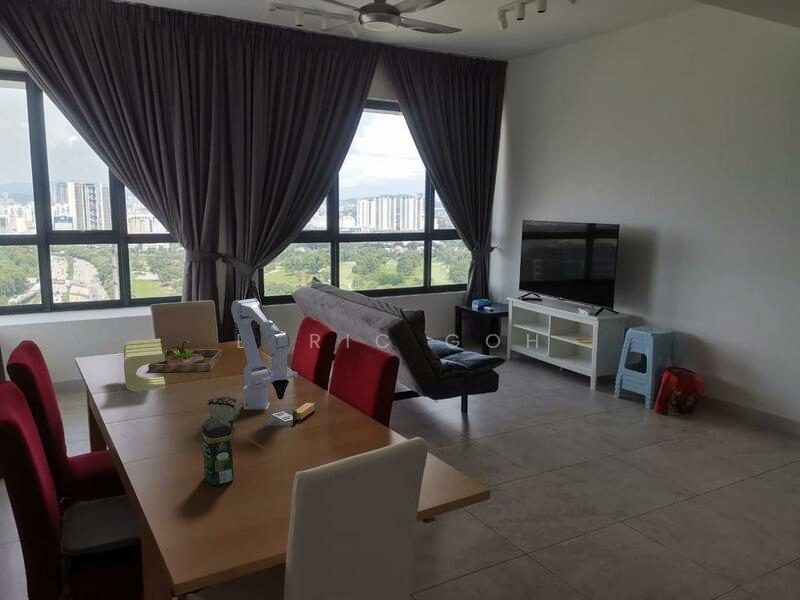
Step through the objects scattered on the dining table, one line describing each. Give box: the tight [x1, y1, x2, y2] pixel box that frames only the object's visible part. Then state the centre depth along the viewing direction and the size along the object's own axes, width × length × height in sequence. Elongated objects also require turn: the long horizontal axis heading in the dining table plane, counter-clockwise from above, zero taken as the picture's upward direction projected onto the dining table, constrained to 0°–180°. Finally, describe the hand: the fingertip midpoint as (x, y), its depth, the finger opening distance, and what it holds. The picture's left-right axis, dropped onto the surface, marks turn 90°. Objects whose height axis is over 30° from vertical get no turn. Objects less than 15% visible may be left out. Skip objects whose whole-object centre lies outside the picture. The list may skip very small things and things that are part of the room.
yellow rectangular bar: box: [295, 401, 317, 420], centre depth 237 cm, size 12×4×2 cm, turn 162°
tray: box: [266, 409, 302, 427], centre depth 234 cm, size 12×15×5 cm
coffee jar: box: [201, 417, 235, 486], centre depth 184 cm, size 10×8×19 cm
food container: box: [206, 396, 240, 430], centre depth 228 cm, size 12×6×10 cm, turn 71°
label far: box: [272, 411, 289, 419], centre depth 237 cm, size 5×5×1 cm
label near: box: [279, 415, 293, 422], centre depth 233 cm, size 5×5×1 cm
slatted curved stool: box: [123, 338, 166, 393], centre depth 273 cm, size 30×16×18 cm, turn 24°
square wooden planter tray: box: [147, 348, 223, 373], centre depth 311 cm, size 29×29×4 cm
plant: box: [160, 340, 205, 364], centre depth 313 cm, size 20×20×11 cm
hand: (280, 398), depth 236 cm, fingers closed
